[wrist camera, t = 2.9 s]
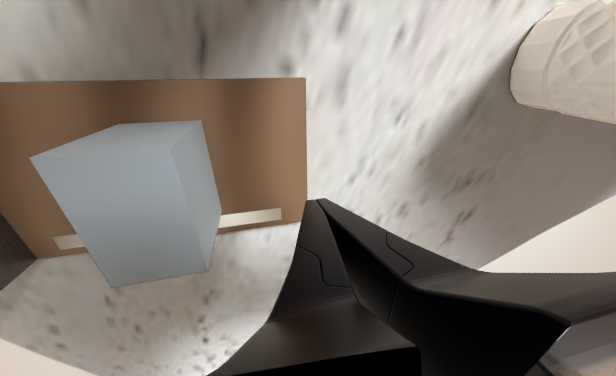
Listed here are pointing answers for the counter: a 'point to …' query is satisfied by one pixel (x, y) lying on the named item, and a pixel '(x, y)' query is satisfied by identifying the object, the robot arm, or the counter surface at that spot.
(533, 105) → the white cup
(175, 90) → the gauge base
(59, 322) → the counter surface
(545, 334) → the robot arm
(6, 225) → the dark grey slab
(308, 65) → the counter surface
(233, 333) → the counter surface
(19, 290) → the counter surface
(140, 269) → the pale grey rectangular block
